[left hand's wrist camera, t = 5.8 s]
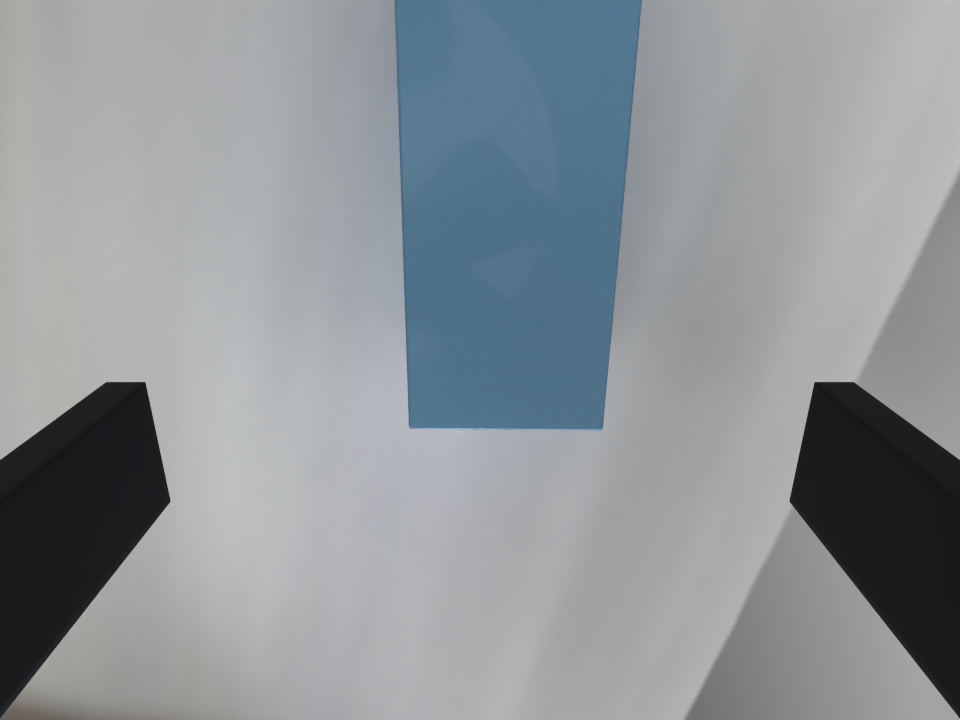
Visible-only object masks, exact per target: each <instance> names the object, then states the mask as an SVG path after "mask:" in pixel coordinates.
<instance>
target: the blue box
mask: <svg viewBox="0 0 960 720" xmlns="http://www.w3.org/2000/svg"><path fill="white" fill-rule="evenodd" d="M641 2H642V0H395V22H396V52H397V82H398V111H399V141H400V171H401V201H402V231H403V260H404V290H405V320H406V350H407V380H408V409H409V427H410V428H411V429H505V430H602V428H603V419H604V408H605V397H606V386H607V375H608V364H609V353H610V343H611V332H612V321H613V310H614V299H615V288H616V277H617V266H618V255H619V244H620V233H621V222H622V211H623V200H624V189H625V178H626V167H627V156H628V145H629V134H630V123H631V112H632V101H633V90H634V79H635V68H636V57H637V46H638V35H639V24H640V13H641Z"/></svg>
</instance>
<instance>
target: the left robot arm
mask: <svg viewBox="0 0 960 720" xmlns="http://www.w3.org/2000/svg"><path fill="white" fill-rule="evenodd" d="M169 503H170V497H169V492H168V487H167V482H166V478H165V473H164V468H163V463H162V459H161V454H160V449H159V445H158V440H157V435H156V430H155V426H154V421H153V416H152V411H151V407H150V402H149V397H148V393H147V388H146V383H145V382H106V383H105V384H103V385H102V386H100V387H99V388H98V389H96V390H95V391H94V392H92V393H91V394H90V395H88V396H87V397H86V398H84V399H83V400H81V401H80V402H79V403H77V404H76V405H75V406H73V407H72V408H71V409H69V410H68V411H66V412H65V413H64V414H62V415H61V416H60V417H58V418H57V419H56V420H54V421H53V422H51V423H50V424H49V425H47V426H46V427H45V428H43V429H42V430H41V431H39V432H38V433H37V434H35V435H34V436H32V437H31V438H30V439H28V440H27V441H26V442H24V443H23V444H22V445H20V446H19V447H17V448H16V449H15V450H13V451H12V452H11V453H9V454H8V455H7V456H5V457H4V458H2V459H1V460H0V718H1V716H2V715H3V714H4V713H5V711H6V710H7V709H8V708H9V706H10V705H11V704H12V702H13V701H14V700H15V699H16V697H17V696H18V695H19V694H20V692H21V691H22V690H23V688H24V687H25V686H26V685H27V683H28V682H29V681H30V680H31V678H32V677H33V676H34V675H35V673H36V672H37V671H38V669H39V668H40V667H41V666H42V664H43V663H44V662H45V661H46V659H47V658H48V657H49V655H50V654H51V653H52V652H53V650H54V649H55V648H56V647H57V645H58V644H59V643H60V641H61V640H62V639H63V638H64V636H65V635H66V634H67V633H68V631H69V630H70V629H71V627H72V626H73V625H74V624H75V622H76V621H77V620H78V619H79V617H80V616H81V615H82V613H83V612H84V611H85V610H86V608H87V607H88V606H89V605H90V603H91V602H92V601H93V599H94V598H95V597H96V596H97V594H98V593H99V592H100V591H101V589H102V588H103V587H104V585H105V584H106V583H107V582H108V580H109V579H110V578H111V577H112V575H113V574H114V573H115V571H116V570H117V569H118V568H119V566H120V565H121V564H122V563H123V561H124V560H125V559H126V557H127V556H128V555H129V554H130V552H131V551H132V550H133V549H134V547H135V546H136V545H137V543H138V542H139V541H140V540H141V538H142V537H143V536H144V535H145V533H146V532H147V531H148V529H149V528H150V527H151V526H152V524H153V523H154V522H155V521H156V519H157V518H158V517H159V515H160V514H161V513H162V512H163V510H164V509H165V508H166V507H167V505H168V504H169ZM790 503H791V504H792V505H793V507H794V508H795V509H796V510H797V512H798V513H799V514H800V515H801V517H802V518H803V519H804V521H805V522H806V523H807V524H808V526H809V527H810V528H811V529H812V531H813V532H814V533H815V535H816V536H817V537H818V538H819V540H820V541H821V542H822V543H823V545H824V546H825V547H826V549H827V550H828V551H829V552H830V554H831V555H832V556H833V557H834V559H835V560H836V561H837V563H838V564H839V565H840V566H841V568H842V569H843V570H844V571H845V573H846V574H847V575H848V576H849V578H850V579H851V580H852V582H853V583H854V584H855V585H856V587H857V588H858V589H859V590H860V592H861V593H862V594H863V596H864V597H865V598H866V599H867V601H868V602H869V603H870V604H871V606H872V607H873V608H874V610H875V611H876V612H877V613H878V615H879V616H880V617H881V618H882V620H883V621H884V622H885V624H886V625H887V626H888V627H889V629H890V630H891V631H892V633H893V634H894V635H895V636H896V638H897V639H898V640H899V641H900V643H901V644H902V645H903V647H904V648H905V649H906V650H907V652H908V653H909V654H910V655H911V657H912V658H913V659H914V661H915V662H916V663H917V664H918V666H919V667H920V668H921V669H922V671H923V672H924V673H925V674H926V676H927V677H928V678H929V680H930V681H931V682H932V683H933V685H934V686H935V687H936V688H937V690H938V691H939V692H940V694H941V695H942V696H943V697H944V699H945V700H946V701H947V702H948V704H949V705H950V706H951V708H952V709H953V710H954V711H955V713H956V714H957V715H958V716H959V718H960V460H959V459H957V458H956V457H955V456H953V455H952V454H951V453H949V452H948V451H947V450H945V449H944V448H943V447H941V446H940V445H938V444H937V443H936V442H934V441H933V440H932V439H930V438H929V437H928V436H926V435H925V434H923V433H922V432H921V431H919V430H918V429H917V428H915V427H914V426H912V425H911V424H910V423H908V422H907V421H906V420H904V419H903V418H902V417H900V416H899V415H898V414H896V413H895V412H894V411H892V410H891V409H889V408H888V407H887V406H885V405H884V404H883V403H881V402H880V401H879V400H877V399H876V398H874V397H873V396H872V395H870V394H869V393H868V392H866V391H865V390H864V389H862V388H861V387H859V386H858V385H857V384H855V383H854V382H815V383H814V388H813V393H812V397H811V402H810V407H809V411H808V416H807V421H806V426H805V430H804V435H803V440H802V445H801V449H800V454H799V459H798V463H797V468H796V473H795V478H794V482H793V487H792V492H791V497H790Z"/></svg>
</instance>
